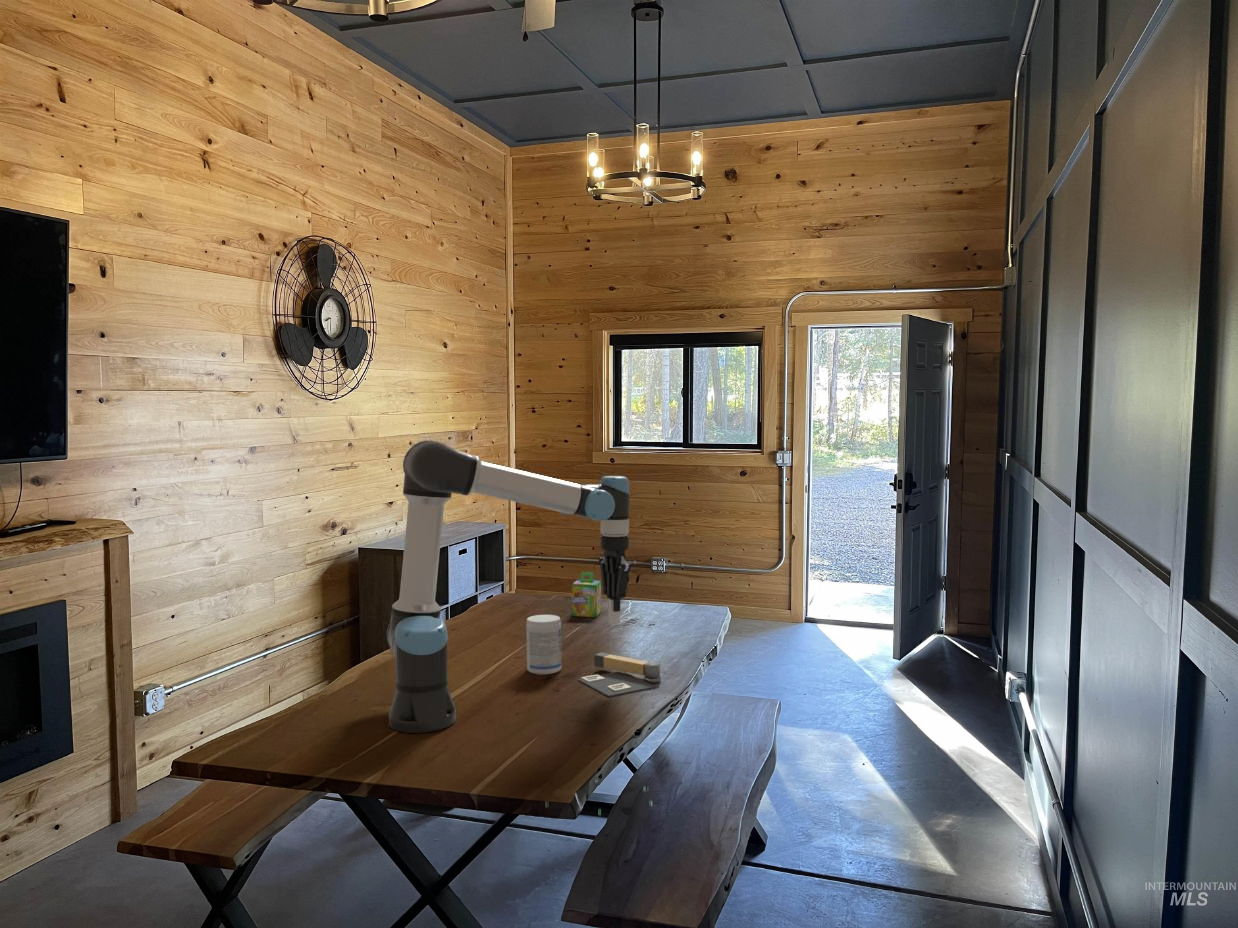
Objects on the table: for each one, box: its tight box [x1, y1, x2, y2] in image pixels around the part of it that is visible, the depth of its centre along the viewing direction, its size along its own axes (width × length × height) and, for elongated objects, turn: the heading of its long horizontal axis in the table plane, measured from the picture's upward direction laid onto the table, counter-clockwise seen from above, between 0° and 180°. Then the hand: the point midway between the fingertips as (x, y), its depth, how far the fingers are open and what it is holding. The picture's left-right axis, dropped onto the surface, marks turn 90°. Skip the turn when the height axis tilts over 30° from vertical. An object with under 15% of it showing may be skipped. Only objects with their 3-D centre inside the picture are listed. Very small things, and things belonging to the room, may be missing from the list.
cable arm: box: [593, 651, 661, 678], centre depth 236 cm, size 20×4×3 cm, turn 55°
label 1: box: [580, 674, 605, 682], centre depth 232 cm, size 5×4×1 cm
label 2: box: [607, 683, 632, 691], centre depth 225 cm, size 5×4×1 cm
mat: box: [577, 671, 656, 698], centre depth 229 cm, size 14×16×1 cm
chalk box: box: [571, 571, 602, 618], centre depth 308 cm, size 9×9×15 cm
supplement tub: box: [525, 614, 563, 676], centre depth 241 cm, size 10×10×15 cm
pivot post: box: [643, 675, 662, 685], centre depth 231 cm, size 4×4×1 cm
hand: (614, 622), depth 231 cm, fingers closed
